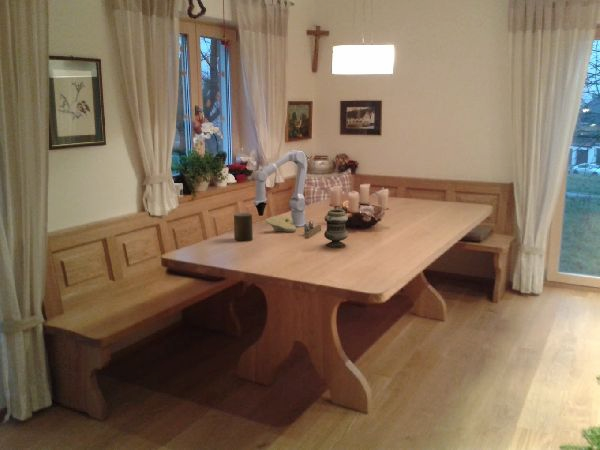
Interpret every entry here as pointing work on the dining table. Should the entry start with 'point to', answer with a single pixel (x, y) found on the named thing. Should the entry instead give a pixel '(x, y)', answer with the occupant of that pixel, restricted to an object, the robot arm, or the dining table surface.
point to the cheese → (282, 223)
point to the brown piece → (311, 229)
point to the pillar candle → (243, 227)
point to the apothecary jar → (336, 227)
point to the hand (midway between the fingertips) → (260, 215)
